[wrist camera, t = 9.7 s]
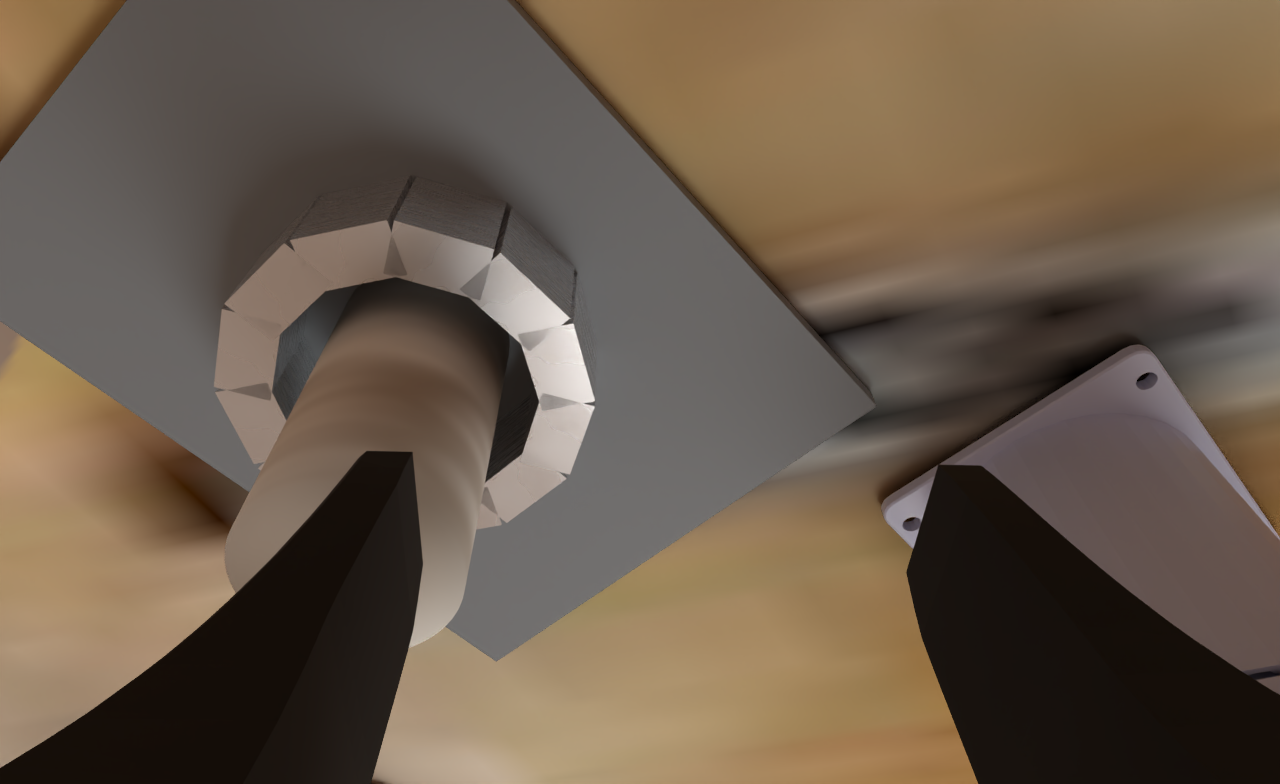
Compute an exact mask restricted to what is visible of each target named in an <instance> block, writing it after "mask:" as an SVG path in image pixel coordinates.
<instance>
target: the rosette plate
mask: <svg viewBox="0 0 1280 784" xmlns="http://www.w3.org/2000/svg"><path fill="white" fill-rule="evenodd" d="M409 175H411V178H412V181H413V182H414V180H415V178H416V176H420V177H423V178H427V179H430V180H433V181H437V182H440V183H444V184H447V185H450V186H454V187H457V188H460V189H464V190H467V191H470V192H474V193H477V194H480V195H484V196H487V197H490V198H494V199H497V200H500V201H504V202H507V203H506V207H505V211H504V213H505V212H506V211H507V210H508V209H509V208H510V207H511V206H513V207H514V208H515V209H516V210H517V211H518V212H519V213H520V214H521V215H522V216H523V217H524V218H525V219H526V220H527V221H529V222H530V223H531V224H532V225H533V226H534V227H535V228H536V229H537V230H538V231H539V232H540V233H541V234H542V235H543V236H544V237H545V238H546V239H547V240H548V241H549V242H550V243H551V244H552V245H553V246H554V247H555V248H556V249H557V250H558V251H559V252H560V253H561V254H562V255H563V256H564V257H565V258H566V259H568V260H569V261H570V262H571V263H572V264H573V265H574V266H575V268H574V272H577V271H578V275H579V279H580V282H581V286H582V290H583V294H584V297H585V301H586V305H587V309H588V312H589V316H590V320H591V324H592V327H593V331H594V335H595V339H596V342H597V360H596V389H595V407H594V410H593V413H592V416H591V418H590V421H589V424H588V427H587V429H586V432H585V435H584V437H583V440H582V443H581V446H580V448H579V451H578V454H577V457H576V459H575V462H574V465H573V467H572V470H571V473H570V475H569V474H567V479H566V480H564V481H563V482H562V483H560V484H559V485H558V486H556V487H555V488H553V489H552V490H551V491H549V492H548V493H547V494H545V495H544V496H543V497H541V498H540V499H539V500H537V501H536V502H535V503H533V504H532V505H531V506H529V507H528V508H526V509H525V510H524V511H522V512H521V513H520V514H518V515H517V516H516V517H514V518H513V519H512V520H510V521H509V522H508V523H506V522H505V521H504V520H503V521H502V525H499V526H494V527H488V528H482V529H476V533H475V538H474V544H473V549H472V554H471V560H470V565H469V570H468V576H467V581H466V586H465V591H464V596H463V600H462V602H461V605H460V607H459V609H458V611H457V612H456V614H455V615H454V617H453V619H452V620H451V621H450V622H449V623H448V624H447V625H446V626H445V627H447V628H448V629H450V630H451V631H453V632H454V633H456V634H457V635H458V636H460V637H461V638H463V639H464V640H466V641H467V642H469V643H470V644H472V645H473V646H474V647H476V648H477V649H479V650H480V651H482V652H483V653H485V654H486V655H488V656H489V657H491V658H492V659H493V660H495V661H498V660H499V659H501V658H502V657H504V656H505V655H507V654H508V653H510V652H511V651H513V650H514V649H516V648H517V647H519V646H520V645H522V644H523V643H525V642H526V641H528V640H529V639H531V638H532V637H534V636H535V635H537V634H538V633H540V632H541V631H543V630H544V629H546V628H547V627H549V626H550V625H552V624H553V623H554V622H556V621H557V620H559V619H560V618H562V617H563V616H565V615H566V614H568V613H569V612H571V611H572V610H574V609H575V608H577V607H578V606H580V605H581V604H583V603H584V602H586V601H587V600H589V599H590V598H592V597H593V596H595V595H596V594H598V593H599V592H601V591H602V590H604V589H605V588H607V587H608V586H610V585H611V584H613V583H614V582H616V581H617V580H619V579H620V578H622V577H623V576H624V575H626V574H627V573H629V572H630V571H632V570H633V569H635V568H636V567H638V566H639V565H641V564H642V563H644V562H645V561H647V560H648V559H650V558H651V557H653V556H654V555H656V554H657V553H659V552H660V551H662V550H663V549H665V548H666V547H668V546H669V545H671V544H672V543H674V542H675V541H677V540H678V539H680V538H681V537H683V536H684V535H686V534H687V533H689V532H690V531H692V530H693V529H694V528H696V527H697V526H699V525H700V524H702V523H703V522H705V521H706V520H708V519H709V518H711V517H712V516H714V515H715V514H717V513H718V512H720V511H721V510H723V509H724V508H726V507H727V506H729V505H730V504H732V503H733V502H735V501H736V500H738V499H739V498H741V497H742V496H744V495H745V494H747V493H748V492H750V491H751V490H753V489H754V488H756V487H757V486H759V485H760V484H762V483H763V482H765V481H766V480H767V479H769V478H770V477H772V476H773V475H775V474H776V473H778V472H779V471H781V470H782V469H784V468H785V467H787V466H788V465H790V464H791V463H793V462H794V461H796V460H797V459H799V458H800V457H802V456H803V455H805V454H806V453H808V452H809V451H811V450H812V449H814V448H815V447H817V446H818V445H820V444H821V443H823V442H824V441H826V440H827V439H829V438H830V437H832V436H833V435H835V434H836V433H837V432H839V431H840V430H842V429H843V428H845V427H846V426H848V425H849V424H851V423H852V422H854V421H855V420H857V419H858V418H860V417H861V416H863V415H864V414H866V413H867V412H869V411H870V410H872V409H873V408H875V407H876V406H877V405H876V403H875V401H874V398H873V396H872V394H871V392H870V391H869V390H868V389H867V388H866V387H865V386H864V385H863V383H862V382H861V381H860V380H859V379H858V378H857V377H856V376H855V375H854V374H853V372H852V371H851V370H850V369H849V368H848V367H847V366H846V365H845V364H844V363H843V361H842V360H841V359H840V358H839V357H838V356H837V355H836V354H835V353H834V351H833V350H832V349H831V348H830V347H829V346H828V345H827V344H826V343H825V342H824V340H823V339H822V338H821V337H820V336H819V335H818V334H817V333H816V332H815V331H814V329H813V328H812V327H811V326H810V325H809V324H808V323H807V322H806V321H805V319H804V318H803V317H802V316H801V315H800V314H799V313H798V312H797V311H796V310H795V308H794V307H793V306H792V305H791V304H790V303H789V302H788V301H787V300H786V299H785V297H784V296H783V295H782V294H781V293H780V292H779V291H778V290H777V289H776V287H775V286H774V285H773V284H772V283H771V282H770V281H769V280H768V279H767V278H766V276H765V275H764V274H763V273H762V272H761V271H760V270H759V269H758V268H757V267H756V265H755V264H754V263H753V262H752V261H751V260H750V259H749V258H748V257H747V255H746V254H745V253H744V252H743V251H742V250H741V249H740V248H739V247H738V246H737V244H736V243H735V242H734V241H733V240H732V239H731V238H730V237H729V236H728V235H727V233H726V232H725V231H724V230H723V229H722V228H721V227H720V226H719V225H718V223H717V222H716V221H715V220H714V219H713V218H712V217H711V216H710V215H709V214H708V212H707V211H706V210H705V209H704V208H703V207H702V206H701V205H700V204H699V203H698V201H697V200H696V199H695V198H694V197H693V196H692V195H691V194H690V193H689V192H688V190H687V189H686V188H685V187H684V186H683V185H682V184H681V183H680V182H679V180H678V179H677V178H676V177H675V176H674V175H673V174H672V173H671V172H670V171H669V169H668V168H667V167H666V166H665V165H664V164H663V163H662V162H661V161H660V160H659V158H658V157H657V156H656V155H655V154H654V153H653V152H652V151H651V150H650V148H649V147H648V146H647V145H646V144H645V143H644V142H643V141H642V140H641V139H640V137H639V136H638V135H637V134H636V133H635V132H634V131H633V130H632V129H631V128H630V126H629V125H628V124H627V123H626V122H625V121H624V120H623V119H622V118H621V116H620V115H619V114H618V113H617V112H616V111H615V110H614V109H613V108H612V107H611V105H610V104H609V103H608V102H607V101H606V100H605V99H604V98H603V97H602V96H601V94H600V93H599V92H598V91H597V90H596V89H595V88H594V87H593V86H592V84H591V83H590V82H589V81H588V80H587V79H586V78H585V77H584V76H583V75H582V73H581V72H580V71H579V70H578V69H577V68H576V67H575V66H574V65H573V64H572V62H571V61H570V60H569V59H568V58H567V57H566V56H565V55H564V54H563V52H562V51H561V50H560V49H559V48H558V47H557V46H556V45H555V44H554V43H553V41H552V40H551V39H550V38H549V37H548V36H547V35H546V34H545V33H544V32H543V30H542V29H541V28H540V27H539V26H538V25H537V24H536V23H535V22H534V20H533V19H532V18H531V17H530V16H529V15H528V14H527V13H526V12H525V11H524V9H523V8H522V7H521V6H520V5H519V4H518V3H517V2H516V1H515V0H127V1H126V2H125V3H124V5H123V6H122V7H121V8H120V10H119V11H118V12H117V14H116V15H115V16H114V17H113V19H112V20H111V21H110V22H109V24H108V25H107V26H106V28H105V29H104V30H103V31H102V33H101V34H100V35H99V37H98V38H97V39H96V40H95V42H94V43H93V44H92V45H91V47H90V48H89V49H88V51H87V52H86V53H85V54H84V56H83V57H82V58H81V60H80V61H79V62H78V63H77V65H76V66H75V67H74V68H73V70H72V71H71V72H70V74H69V75H68V76H67V77H66V79H65V80H64V81H63V83H62V84H61V85H60V86H59V88H58V89H57V90H56V91H55V93H54V94H53V95H52V97H51V98H50V99H49V100H48V102H47V103H46V104H45V106H44V107H43V108H42V109H41V111H40V112H39V113H38V114H37V116H36V117H35V118H34V120H33V121H32V122H31V123H30V125H29V126H28V127H27V129H26V130H25V131H24V132H23V134H22V135H21V136H20V137H19V139H18V140H17V141H16V143H15V144H14V145H13V146H12V148H11V149H10V150H9V152H8V153H7V154H6V155H5V157H4V158H3V159H2V160H1V162H0V321H1V322H2V323H3V324H5V325H7V326H8V327H9V328H11V329H12V330H14V331H15V332H17V333H18V334H20V335H21V336H22V337H24V338H25V339H27V340H28V341H30V342H31V343H33V344H34V345H36V346H37V347H38V348H40V349H41V350H43V351H44V352H46V353H47V354H49V355H50V356H52V357H53V358H55V359H56V360H57V361H59V362H60V363H62V364H63V365H65V366H66V367H68V368H69V369H71V370H72V371H73V372H75V373H76V374H78V375H79V376H81V377H82V378H84V379H85V380H87V381H88V382H90V383H91V384H92V385H94V386H95V387H97V388H98V389H100V390H101V391H103V392H104V393H106V394H107V395H108V396H110V397H111V398H113V399H114V400H116V401H117V402H119V403H120V404H122V405H123V406H125V407H126V408H127V409H129V410H130V411H132V412H133V413H135V414H136V415H138V416H139V417H141V418H142V419H143V420H145V421H146V422H148V423H149V424H151V425H152V426H154V427H155V428H157V429H158V430H160V431H161V432H162V433H164V434H165V435H167V436H168V437H170V438H171V439H173V440H174V441H176V442H177V443H178V444H180V445H181V446H183V447H184V448H186V449H187V450H189V451H190V452H192V453H193V454H195V455H196V456H197V457H199V458H200V459H202V460H203V461H205V462H206V463H208V464H209V465H211V466H212V467H213V468H215V469H216V470H218V471H219V472H221V473H222V474H224V475H225V476H227V477H228V478H229V479H231V480H232V481H234V482H235V483H237V484H238V485H240V486H241V487H243V488H244V489H246V490H247V491H248V492H250V491H251V489H252V487H253V485H254V483H255V481H256V479H257V477H258V475H259V473H260V471H261V470H259V469H258V467H259V465H260V463H257V464H254V463H253V461H252V460H251V458H250V456H249V454H248V452H247V450H246V449H245V447H244V445H243V443H242V441H241V439H240V438H239V436H238V434H237V432H236V430H235V428H234V426H233V425H232V423H231V421H230V419H229V417H228V415H227V414H226V412H225V410H224V408H223V406H222V404H221V403H220V401H219V399H218V397H217V395H216V393H215V392H216V390H217V388H216V387H214V380H215V370H216V361H217V351H218V341H219V332H220V322H221V312H222V308H223V307H224V305H225V304H224V303H225V302H226V301H227V299H228V298H229V297H230V295H231V294H232V293H233V291H234V290H235V289H236V287H237V286H238V285H239V284H240V282H241V281H242V280H243V278H244V277H245V276H246V274H247V273H248V272H249V270H250V269H251V268H252V266H253V265H254V264H255V262H256V261H257V260H258V258H259V257H260V256H261V254H262V253H263V252H264V251H265V250H266V249H267V248H268V247H269V246H270V245H271V244H272V243H273V242H274V241H275V240H276V239H277V238H278V237H279V236H280V235H281V234H282V233H283V232H284V231H285V230H286V229H287V228H288V226H289V225H290V224H291V223H292V222H293V221H294V220H295V219H296V218H297V217H298V216H299V215H300V214H301V213H302V212H303V211H304V210H305V209H306V208H307V207H308V206H309V205H310V204H311V203H312V202H313V201H314V200H315V199H316V198H317V197H319V198H321V196H322V195H323V194H324V193H329V192H333V191H338V190H343V189H348V188H352V187H357V186H362V185H367V184H371V183H376V182H381V181H386V180H390V179H395V178H400V177H405V176H409ZM360 285H361V284H358V285H353V286H348V287H343V288H338V289H333V290H328V291H325V292H324V293H323V294H322V295H321V296H320V297H319V298H318V299H316V300H315V301H314V302H313V303H312V304H311V305H310V306H309V307H308V313H307V319H306V326H305V332H304V336H305V338H306V341H307V343H308V345H309V347H310V349H311V351H312V354H313V356H314V358H315V360H316V362H317V361H318V359H319V357H320V355H321V353H322V351H323V349H324V347H325V345H326V343H327V341H328V339H329V338H330V336H331V334H332V332H333V330H334V328H335V326H336V324H337V322H338V320H339V318H340V316H341V314H342V312H343V310H344V308H345V306H346V305H347V303H348V301H349V299H350V297H351V296H352V294H353V293H354V291H355V290H356V289H357V288H358V287H359V286H360ZM509 338H510V350H509V357H508V362H507V367H506V373H505V378H504V383H503V389H502V394H501V399H500V405H499V410H498V416H497V421H498V420H499V419H500V418H502V417H503V416H504V415H505V414H507V413H508V412H509V411H510V410H512V409H513V408H514V407H515V406H517V405H518V404H519V403H520V402H522V401H523V400H524V399H525V398H527V397H528V396H529V395H530V394H531V392H532V389H533V386H534V383H533V380H532V377H531V374H530V371H529V367H528V364H527V361H526V358H525V355H524V352H523V349H522V346H521V344H520V343H519V342H518V341H517V340H516V339H515V338H514V337H513V336H511V335H510V334H509ZM497 421H496V422H497Z"/></svg>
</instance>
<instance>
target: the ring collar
mask: <svg viewBox="0 0 1280 784" xmlns="http://www.w3.org/2000/svg"><path fill="white" fill-rule="evenodd" d="M506 203H507V202H504V201H500V200H497V199H494V198H490V197H487V196H484V195H480V194H477V193H474V192H470V191H467V190H464V189H460V188H457V187H454V186H450V185H447V184H444V183H440V182H437V181H433V180H430V179H427V178H423V177H420V176H416V178H415V180H414V182H413V181H412V178H411V175H409V176H405V177H400V178H395V179H390V180H386V181H381V182H376V183H371V184H367V185H362V186H357V187H352V188H348V189H343V190H338V191H333V192H329V193H324V194H323V195H322V196H321V198H319V197H317V198H316V199H315V200H314V201H313V202H312V203H311V204H310V205H309V206H308V207H307V208H306V209H305V210H304V211H303V212H302V213H301V214H300V215H299V216H298V217H297V218H296V219H295V220H294V221H293V222H292V223H291V224H290V225H289V226H288V228H287V229H286V230H285V231H284V232H283V233H282V234H281V235H280V236H279V237H278V238H277V239H276V240H275V241H274V242H273V243H272V244H271V245H270V246H269V247H268V248H267V249H266V250H265V251H264V252H263V253H262V254H261V256H260V257H259V258H258V260H257V261H256V262H255V264H254V265H253V266H252V268H251V269H250V270H249V272H248V273H247V274H246V276H245V277H244V278H243V280H242V281H241V282H240V284H239V285H238V286H237V287H236V289H235V290H234V291H233V293H232V294H231V295H230V297H229V298H228V299H227V301H226V302H225V303H224V304H225V305H224V307H223V308H222V312H221V322H220V332H219V341H218V351H217V361H216V370H215V380H214V387H216V388H217V390H216V392H215V393H216V395H217V397H218V399H219V401H220V403H221V404H222V406H223V408H224V410H225V412H226V414H227V415H228V417H229V419H230V421H231V423H232V425H233V426H234V428H235V430H236V432H237V434H238V436H239V438H240V439H241V441H242V443H243V445H244V447H245V449H246V450H247V452H248V454H249V456H250V458H251V460H252V461H253V463H254V464H257V463H260V465H259V467H258V469H259V470H261V469H262V467H263V465H264V464H265V462H266V460H267V458H268V456H269V454H270V452H271V450H272V448H273V446H274V444H275V442H276V440H277V438H278V436H279V434H280V433H281V431H282V429H283V427H284V425H285V423H286V421H287V419H288V417H289V415H290V413H291V411H292V409H293V407H294V405H295V403H296V402H297V400H298V398H299V396H300V394H301V392H302V390H303V388H304V386H305V384H306V382H307V380H308V378H309V376H310V374H311V372H312V370H313V369H314V367H315V365H316V363H317V362H316V360H315V358H314V356H313V354H312V351H311V349H310V347H309V345H308V343H307V341H306V338H305V336H304V332H305V326H306V319H307V313H308V307H309V306H310V305H311V304H312V303H313V302H314V301H315V300H316V299H318V298H319V297H320V296H321V295H322V294H323V293H324V292H325V291H328V290H333V289H338V288H343V287H348V286H353V285H358V284H363V283H368V282H373V281H378V280H383V279H388V278H393V277H397V278H401V279H405V280H408V281H412V282H415V283H419V284H423V285H426V286H430V287H433V288H437V289H441V290H444V291H448V292H451V293H455V294H459V295H462V296H466V297H469V298H470V299H471V300H472V301H473V302H475V303H476V304H477V305H478V306H479V307H480V308H481V309H482V310H483V311H485V312H486V313H487V314H488V315H489V316H490V317H491V318H492V319H494V320H495V321H496V322H497V323H498V324H499V325H500V326H501V327H502V328H504V329H505V330H506V331H507V332H508V333H509V334H510V335H511V336H513V337H514V338H515V339H516V340H517V341H518V342H519V343H520V344H521V346H522V349H523V352H524V355H525V358H526V361H527V364H528V367H529V371H530V374H531V377H532V380H533V383H534V386H533V389H532V392H531V394H530V395H529V396H528V397H527V398H525V399H524V400H523V401H522V402H520V403H519V404H518V405H517V406H515V407H514V408H513V409H512V410H510V411H509V412H508V413H507V414H505V415H504V416H503V417H502V418H500V419H499V420H498V421H497V422H496V426H495V432H494V437H493V442H492V448H491V453H490V458H489V464H488V469H487V474H486V480H485V485H484V490H483V496H482V501H481V506H480V512H479V517H478V522H477V528H476V529H482V528H488V527H494V526H499V525H502V521H503V520H504V521H505V522H506V523H508V522H509V521H510V520H512V519H513V518H514V517H516V516H517V515H518V514H520V513H521V512H522V511H524V510H525V509H526V508H528V507H529V506H531V505H532V504H533V503H535V502H536V501H537V500H539V499H540V498H541V497H543V496H544V495H545V494H547V493H548V492H549V491H551V490H552V489H553V488H555V487H556V486H558V485H559V484H560V483H562V482H563V481H564V480H566V479H567V474H569V475H570V473H571V470H572V467H573V465H574V462H575V459H576V457H577V454H578V451H579V448H580V446H581V443H582V440H583V437H584V435H585V432H586V429H587V427H588V424H589V421H590V418H591V416H592V413H593V410H594V407H595V389H596V360H597V342H596V339H595V335H594V331H593V327H592V324H591V320H590V316H589V312H588V309H587V305H586V301H585V297H584V294H583V290H582V286H581V282H580V279H579V275H578V271H577V272H574V268H575V266H574V265H573V264H572V263H571V262H570V261H569V260H568V259H566V258H565V257H564V256H563V255H562V254H561V253H560V252H559V251H558V250H557V249H556V248H555V247H554V246H553V245H552V244H551V243H550V242H549V241H548V240H547V239H546V238H545V237H544V236H543V235H542V234H541V233H540V232H539V231H538V230H537V229H536V228H535V227H534V226H533V225H532V224H531V223H530V222H529V221H527V220H526V219H525V218H524V217H523V216H522V215H521V214H520V213H519V212H518V211H517V210H516V209H515V208H514V207H513V206H511V207H510V208H509V209H508V210H507V211H506V212H505V213H504V211H505V207H506Z"/></svg>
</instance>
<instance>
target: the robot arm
mask: <svg viewBox="0 0 1280 784" xmlns="http://www.w3.org/2000/svg"><path fill="white" fill-rule="evenodd" d="M1147 372H1150V373H1149V375H1148V376H1147V377H1146V378H1145V379H1144V380H1141V381H1139V382H1137V379H1138V378H1139V377H1140V376H1141V375H1142V374H1145V373H1147ZM881 511H882V514H883V517H884V519H885V520H886V522H887V523H888V524H889V525H890V526H891V527H892V528H893V529H894V530H895V531H896V532H897V533H898V534H899V535H900V536H901V537H902V538H903V539H904V540H905V542H906V543H907V544H908V545H909V546H910V547H911V548H912V549H913V552H912V555H911V558H910V562H909V565H908V569H907V572H906V573H907V577H908V582H909V586H910V591H911V595H912V600H913V604H914V609H915V613H916V617H917V620H918V624H919V628H920V632H921V636H922V639H923V642H924V645H925V647H926V650H927V653H928V656H929V658H930V661H931V663H932V666H933V669H934V671H935V674H936V677H937V679H938V682H939V684H940V687H941V690H942V692H943V695H944V697H945V700H946V702H947V705H948V707H949V710H950V713H951V715H952V718H953V720H954V723H955V725H956V728H957V730H958V733H959V735H960V738H961V741H962V743H963V746H964V748H965V751H966V753H967V756H968V758H969V761H970V763H971V766H972V769H973V771H974V774H975V776H976V779H977V781H978V784H1280V537H1279V536H1278V534H1277V533H1276V531H1275V530H1274V528H1273V527H1272V525H1271V524H1270V522H1269V521H1268V520H1267V518H1266V517H1265V515H1264V514H1263V512H1262V511H1261V509H1260V508H1259V506H1258V505H1257V503H1256V502H1255V501H1254V499H1253V498H1252V496H1251V495H1250V493H1249V492H1248V490H1247V489H1246V487H1245V486H1244V484H1243V483H1242V481H1241V480H1240V479H1239V477H1238V476H1237V474H1236V473H1235V471H1234V470H1233V468H1232V467H1231V465H1230V464H1229V462H1228V461H1227V460H1226V458H1225V457H1224V455H1223V454H1222V452H1221V451H1220V449H1219V448H1218V446H1217V445H1216V443H1215V442H1214V440H1213V439H1212V438H1211V436H1210V435H1209V433H1208V432H1207V430H1206V429H1205V427H1204V426H1203V424H1202V423H1201V421H1200V420H1199V419H1198V417H1197V416H1196V414H1195V413H1194V411H1193V410H1192V408H1191V407H1190V405H1189V404H1188V402H1187V401H1186V399H1185V398H1184V397H1183V395H1182V394H1181V392H1180V391H1179V389H1178V388H1177V386H1176V385H1175V383H1174V382H1173V380H1172V379H1171V378H1170V376H1169V375H1168V373H1167V372H1166V370H1165V369H1164V367H1163V366H1162V364H1161V363H1160V361H1159V360H1158V358H1157V357H1156V356H1155V355H1154V354H1153V353H1152V351H1151V350H1149V349H1148V348H1147V347H1146V346H1143V345H1139V344H1138V345H1130V346H1128V347H1126V348H1124V349H1122V350H1120V351H1119V352H1117V353H1116V354H1114V355H1112V356H1111V357H1109V358H1108V359H1106V360H1104V361H1103V362H1101V363H1100V364H1098V365H1096V366H1095V367H1093V368H1092V369H1090V370H1088V371H1087V372H1085V373H1084V374H1082V375H1081V376H1079V377H1077V378H1076V379H1074V380H1073V381H1071V382H1069V383H1068V384H1066V385H1065V386H1063V387H1061V388H1060V389H1058V390H1057V391H1055V392H1053V393H1052V394H1050V395H1049V396H1047V397H1045V398H1044V399H1042V400H1041V401H1039V402H1038V403H1036V404H1034V405H1033V406H1031V407H1030V408H1028V409H1026V410H1025V411H1023V412H1022V413H1020V414H1018V415H1017V416H1015V417H1014V418H1012V419H1010V420H1009V421H1007V422H1006V423H1004V424H1002V425H1001V426H999V427H998V428H996V429H995V430H993V431H991V432H990V433H988V434H987V435H985V436H983V437H982V438H980V439H979V440H977V441H975V442H974V443H972V444H971V445H969V446H967V447H966V448H964V449H963V450H961V451H960V452H958V453H956V454H955V455H953V456H952V457H950V458H948V459H947V460H945V461H944V462H942V463H940V464H939V465H937V466H936V467H934V468H932V469H931V470H929V471H928V472H926V473H924V474H923V475H921V476H920V477H918V478H917V479H915V480H913V481H912V482H910V483H909V484H907V485H905V486H904V487H902V488H901V489H899V490H897V491H896V492H894V493H893V494H891V495H889V496H888V497H887V498H886V499H885V500H884V501H883V503H882V505H881ZM910 517H916V518H915V519H914V520H913V521H910V522H904V521H905V520H906V519H908V518H910ZM422 569H423V557H422V547H421V536H420V525H419V515H418V504H417V493H416V483H415V472H414V461H413V452H399V451H366V452H365V453H363V454H362V455H361V456H360V457H359V458H358V459H357V460H356V462H355V463H354V464H353V465H352V467H351V468H350V469H349V470H348V471H347V473H346V474H345V475H344V476H343V478H342V479H341V480H340V481H339V483H338V484H337V485H336V486H335V487H334V489H333V490H332V491H331V492H330V493H329V495H328V496H327V497H326V498H325V499H324V500H323V502H322V503H321V504H320V505H319V506H318V507H317V509H316V510H315V511H314V512H313V513H312V514H311V516H310V517H309V518H308V519H307V520H306V521H305V522H304V523H303V524H302V526H301V527H300V528H299V529H298V530H297V531H296V532H295V533H294V534H293V535H292V537H291V538H290V539H289V540H288V541H287V542H286V543H285V544H284V545H283V546H282V548H281V549H280V550H279V551H278V552H277V553H276V554H275V555H274V556H273V557H272V558H271V559H270V560H269V561H268V562H267V563H266V564H265V565H264V566H263V567H262V568H261V569H260V570H259V571H258V572H257V573H256V574H255V575H254V576H253V577H252V578H251V579H250V580H249V581H248V582H247V583H246V584H245V585H244V586H243V587H242V588H241V589H240V590H239V591H238V592H237V593H236V594H235V595H234V596H233V597H232V598H231V599H230V600H229V601H228V602H227V603H225V604H224V605H223V606H222V607H221V608H220V609H219V610H218V611H217V612H216V613H215V614H213V615H212V616H211V617H210V618H209V619H208V620H207V621H206V622H205V623H203V624H202V625H201V626H200V627H199V628H198V629H196V630H195V631H194V632H193V633H192V634H191V635H189V636H188V637H187V638H186V639H185V640H183V641H182V642H181V643H180V644H179V645H177V646H176V647H175V648H174V649H173V650H171V651H170V652H169V653H168V654H167V655H165V656H164V657H163V658H162V659H160V660H159V661H158V662H156V663H155V664H154V665H152V666H151V667H150V668H149V669H147V670H146V671H145V672H143V673H142V674H141V675H139V676H138V677H137V678H135V679H134V680H132V681H131V682H130V683H128V684H127V685H126V686H124V687H123V688H121V689H120V690H119V691H117V692H116V693H115V694H113V695H112V696H110V697H109V698H108V699H106V700H105V701H103V702H102V703H101V704H99V705H98V706H97V707H95V708H94V709H92V710H91V711H90V712H88V713H87V714H85V715H84V716H82V717H81V718H79V719H78V720H76V721H75V722H73V723H71V724H70V725H68V726H67V727H65V728H64V729H62V730H61V731H59V732H58V733H56V734H54V735H53V736H51V737H50V738H48V739H47V740H45V741H44V742H42V743H40V744H39V745H37V746H35V747H34V748H32V749H31V750H29V751H27V752H26V753H24V754H22V755H21V756H19V757H18V758H16V759H14V760H13V761H11V762H9V763H8V764H6V765H4V766H3V767H1V768H0V784H371V780H372V777H373V773H374V770H375V766H376V763H377V759H378V756H379V752H380V748H381V745H382V741H383V738H384V734H385V731H386V727H387V724H388V720H389V717H390V713H391V709H392V706H393V702H394V699H395V695H396V692H397V688H398V685H399V681H400V677H401V674H402V670H403V666H404V663H405V659H406V656H407V652H408V648H409V645H410V641H411V637H412V633H413V628H414V622H415V616H416V609H417V603H418V596H419V589H420V583H421V576H422Z"/></svg>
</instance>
